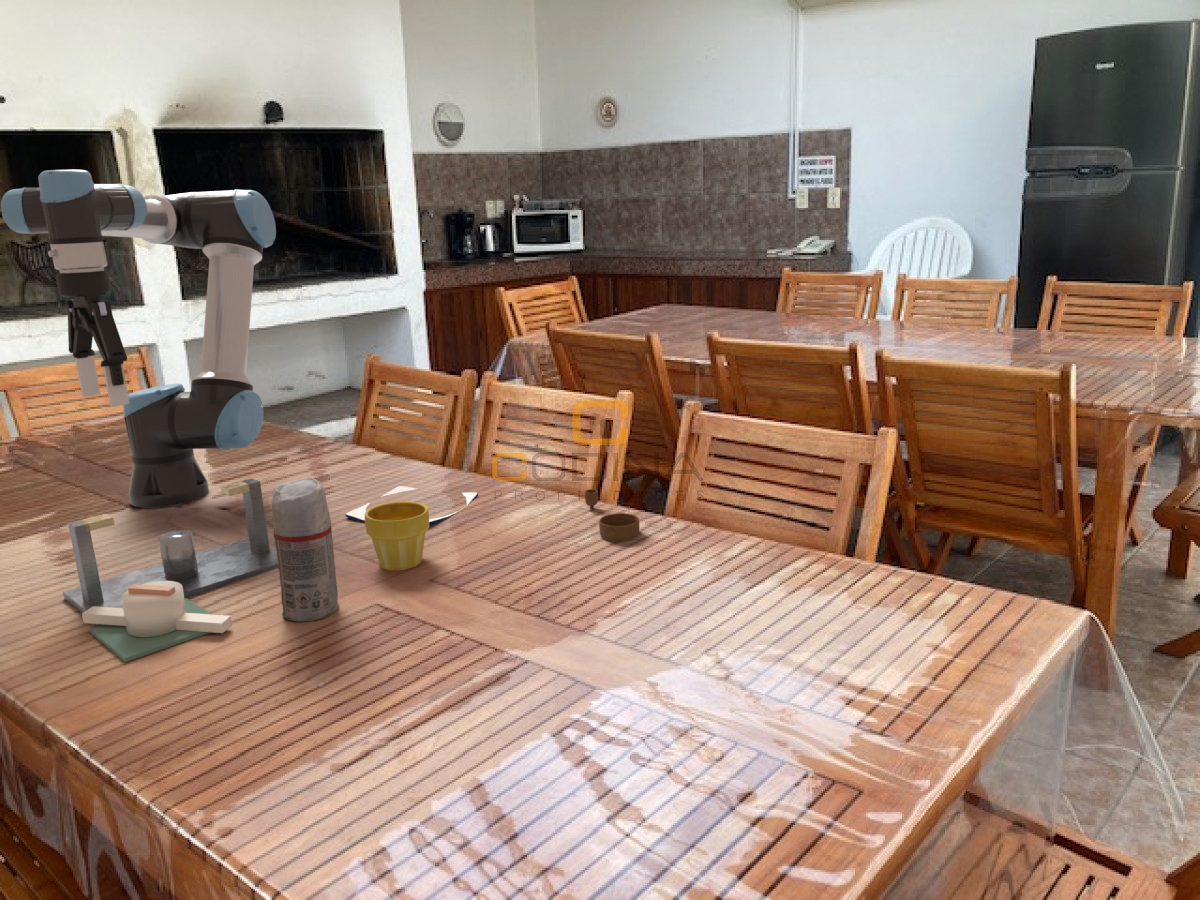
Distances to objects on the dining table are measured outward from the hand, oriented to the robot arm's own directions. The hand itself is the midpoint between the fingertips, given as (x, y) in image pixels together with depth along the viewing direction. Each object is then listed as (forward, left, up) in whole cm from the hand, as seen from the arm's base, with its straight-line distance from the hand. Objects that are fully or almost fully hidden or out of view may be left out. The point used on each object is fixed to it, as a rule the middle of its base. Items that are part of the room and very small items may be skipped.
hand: (105, 400), depth 156 cm
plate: (-46, +18, -29) cm, 57 cm away
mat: (+8, +32, -29) cm, 44 cm away
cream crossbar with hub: (+8, +32, -28) cm, 43 cm away
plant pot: (-29, +39, -29) cm, 57 cm away
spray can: (-10, +44, -29) cm, 54 cm away
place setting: (-63, +57, -30) cm, 90 cm away
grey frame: (-2, +16, -29) cm, 33 cm away
